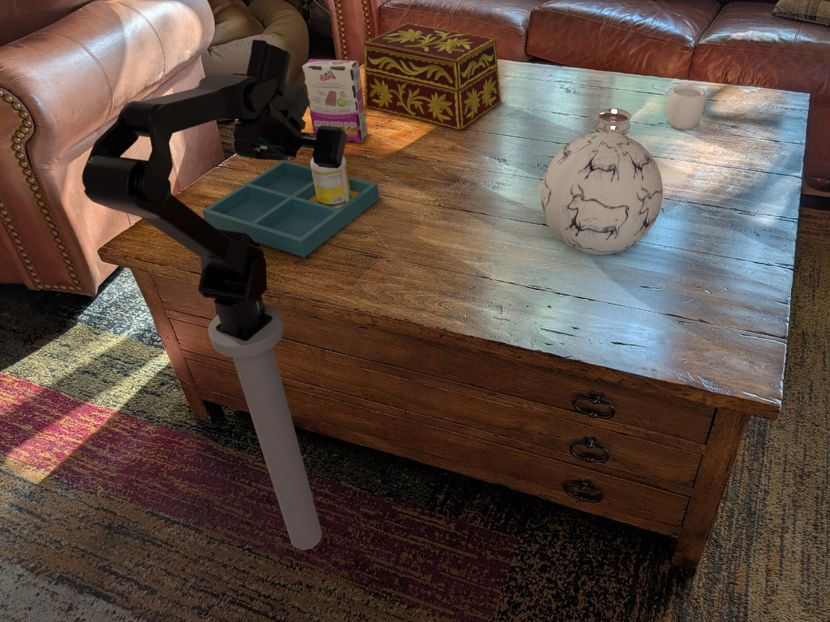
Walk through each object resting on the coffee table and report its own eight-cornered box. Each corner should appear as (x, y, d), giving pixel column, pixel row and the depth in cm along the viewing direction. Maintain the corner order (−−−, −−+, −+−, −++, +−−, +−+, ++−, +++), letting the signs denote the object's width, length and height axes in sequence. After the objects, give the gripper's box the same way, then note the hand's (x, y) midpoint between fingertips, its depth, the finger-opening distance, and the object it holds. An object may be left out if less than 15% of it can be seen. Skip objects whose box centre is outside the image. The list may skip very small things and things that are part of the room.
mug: (695, 136, 161) (702, 101, 155) (658, 128, 164) (663, 94, 159) (710, 116, 168) (717, 82, 163) (674, 109, 172) (680, 76, 166)
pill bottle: (339, 190, 142) (330, 133, 134) (358, 201, 138) (350, 144, 131) (310, 201, 139) (300, 144, 131) (330, 214, 135) (320, 155, 127)
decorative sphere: (677, 254, 125) (699, 144, 112) (587, 292, 117) (599, 178, 104) (602, 206, 138) (614, 102, 125) (516, 237, 130) (519, 130, 117)
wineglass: (631, 174, 147) (639, 117, 139) (604, 183, 145) (611, 125, 137) (610, 162, 152) (616, 105, 144) (584, 170, 149) (589, 113, 141)
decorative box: (364, 107, 175) (356, 42, 165) (409, 82, 187) (404, 20, 177) (460, 130, 164) (458, 63, 154) (501, 102, 176) (502, 38, 166)
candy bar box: (368, 134, 164) (359, 59, 153) (362, 143, 160) (352, 68, 149) (321, 131, 165) (308, 57, 154) (313, 140, 161) (300, 65, 151)
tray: (304, 257, 126) (301, 241, 124) (206, 226, 134) (201, 210, 132) (379, 199, 141) (377, 183, 139) (286, 174, 149) (283, 159, 147)
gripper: (333, 79, 110) (369, 121, 125) (224, 68, 114) (272, 110, 129) (319, 150, 110) (356, 183, 125) (210, 136, 114) (259, 171, 129)
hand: (311, 160), depth 127 cm, fingers open, 9 cm apart
